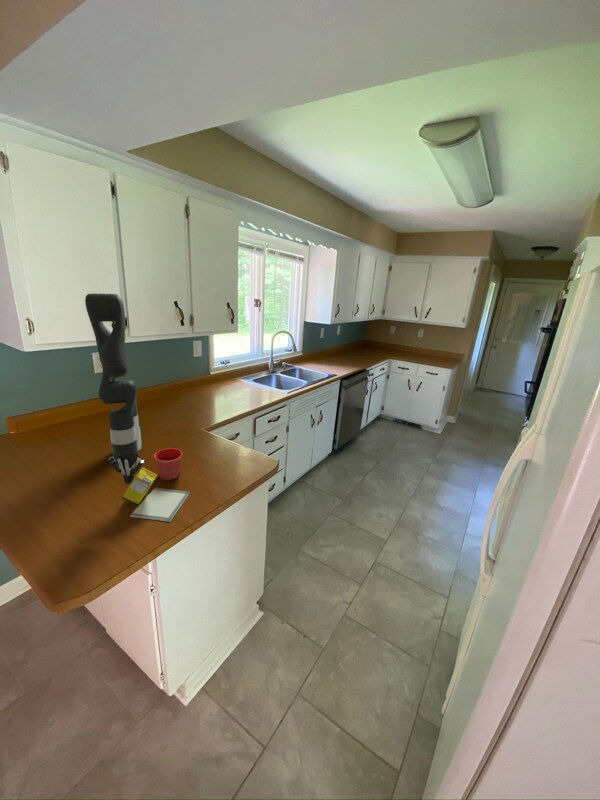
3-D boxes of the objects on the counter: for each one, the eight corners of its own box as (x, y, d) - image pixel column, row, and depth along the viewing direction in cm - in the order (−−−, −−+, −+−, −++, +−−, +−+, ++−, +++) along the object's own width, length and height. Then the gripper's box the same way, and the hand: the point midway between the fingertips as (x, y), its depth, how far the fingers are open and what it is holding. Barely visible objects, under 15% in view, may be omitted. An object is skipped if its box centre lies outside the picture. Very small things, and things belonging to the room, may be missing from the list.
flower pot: (184, 467, 137) (183, 447, 134) (181, 481, 127) (180, 460, 124) (158, 468, 135) (157, 448, 132) (153, 483, 125) (151, 461, 122)
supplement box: (144, 495, 117) (158, 474, 115) (137, 506, 112) (151, 484, 109) (129, 488, 116) (143, 466, 113) (121, 498, 111) (135, 476, 108)
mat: (154, 488, 122) (154, 487, 122) (190, 492, 121) (190, 491, 121) (130, 516, 107) (130, 515, 107) (170, 521, 106) (170, 520, 106)
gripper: (148, 436, 109) (152, 479, 115) (112, 431, 110) (118, 474, 116) (136, 446, 102) (141, 491, 108) (97, 441, 103) (104, 486, 109)
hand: (129, 482), depth 112 cm, fingers closed
